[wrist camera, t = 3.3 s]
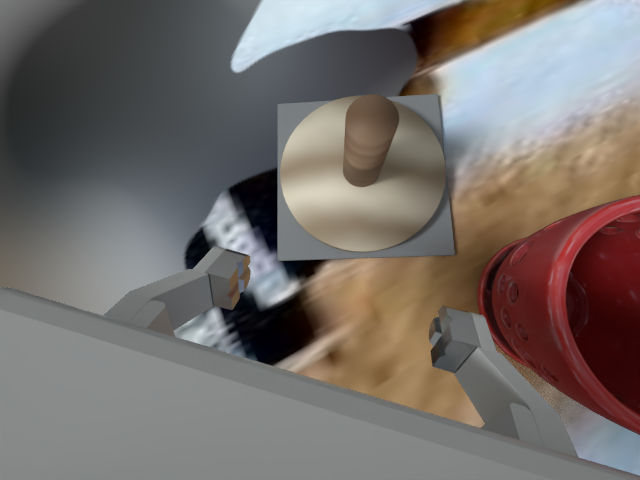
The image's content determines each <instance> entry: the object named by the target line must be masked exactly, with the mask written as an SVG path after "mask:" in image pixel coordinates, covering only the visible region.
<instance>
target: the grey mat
mask: <svg viewBox="0 0 640 480" xmlns="http://www.w3.org/2000/svg"><path fill="white" fill-rule="evenodd" d="M386 98H388V99H389V100H392V101H394V102H397V103H399V104H401V105H403V106H405V107H407V108H409V109H410V110H412V111H413V112H415V113H416V114H417V115H418V116H419V117H421V118H422V119H423V120H424V121H425V122H426V124H427V125H428V126H429V127H430V128H431V130H432V131H433V133H434V134H435V136H436V137H437V139H438V142H439V144H440V146H441V149H442V152H443V155H444V148H443V138H442V129H441V120H440V110H439V101H438V94H430V95H415V96H399V97H386ZM329 102H332V101H321V102H305V103H289V104H278V261H289V260H321V259H353V258H386V257H418V256H450V255H455V250H454V240H453V231H452V222H451V212H450V203H449V194H448V185H447V175H446V179H445V187H444V191H443V195H442V198H441V200H440V203H439V205H438V207H437V209H436V211H435V212H434V214H433V216H432V217H431V218H430V219H429V221H428V222H427V223H426V224H425V225H424V226H423V227H422V228H421V229H420V230H419V231H418V232H417V233H415V234H414V235H412V236H411V237H410V238H408V239H407V240H405V241H403V242H401V243H400V244H398V245H396V246H393V247H390V248H388V249H384V250H380V251H376V252H366V253H361V252H349V251H343V250H340V249H336V248H333V247H331V246H328V245H326V244H324V243H322V242H320V241H319V240H317V239H316V238H314V237H313V236H311V235H310V234H309V233H308V232H307V231H305V229H304V228H303V227H302V226H301V225H300V224H299V223H298V221H297V220H296V219H295V217H294V216H293V214H292V213H291V211H290V209H289V207H288V205H287V203H286V201H285V198H284V195H283V191H282V187H281V178H280V169H281V160H282V156H283V152H284V149H285V146H286V144H287V142H288V140H289V138H290V136H291V134H292V133H293V131H294V130H295V129H296V127H297V126H298V125H299V124H300V123H301V122H302V120H303V119H305V118H306V117H307V116H308V115H309V114H310V113H312V112H313V111H315V110H316V109H318V108H319V107H321V106H323V105H325V104H327V103H329ZM444 160H445V157H444Z"/></svg>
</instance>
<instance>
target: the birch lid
mask: <svg viewBox="0 0 640 480" xmlns="http://www.w3.org/2000/svg"><path fill="white" fill-rule="evenodd" d="M280 178H281V187H282V191H283V195H284V198H285V201H286V203H287V205H288V207H289V209H290V211H291V213H292V214H293V216H294V217H295V219H296V220H297V221H298V223H299V224H300V225H301V226H302V227H303V228H304V229H305V231H307V232H308V233H309V234H310V235H311V236H313V237H314V238H316V239H317V240H319V241H320V242H322V243H324V244H326V245H328V246H331V247H333V248H336V249H340V250H343V251H349V252H361V253H366V252H376V251H380V250H384V249H388V248H390V247H393V246H396V245H398V244H400V243H401V242H403V241H405V240H407V239H408V238H410V237H411V236H412V235H414V234H415V233H417V232H418V231H419V230H420V229H421V228H422V227H423V226H424V225H425V224H426V223H427V222H428V221H429V219H430V218H431V217H432V216H433V214H434V212H435V211H436V209H437V207H438V205H439V203H440V200H441V198H442V195H443V191H444V187H445V179H446V166H445V160H444V155H443V152H442V149H441V146H440V144H439V142H438V139H437V137H436V136H435V134H434V133H433V131H432V130H431V128H430V127H429V126H428V125H427V124H426V122H425V121H424V120H423V119H422V118H421V117H419V116H418V115H417V114H416V113H415V112H413V111H412V110H410V109H409V108H407V107H405V106H403V105H401V104H399V103H397V102H394V101H392V100H389V99H388V98H386V97H383V96H381V95H375V94H372V95H371V94H370V95H365V96H352V97H346V98H341V99H338V100H335V101H332V102H329V103H327V104H325V105H323V106H321V107H319V108H318V109H316V110H315V111H313V112H312V113H310V114H309V115H308V116H307V117H306V118H305V119H303V120H302V122H301V123H300V124H299V125H298V126H297V127H296V129H295V130H294V131H293V133H292V134H291V136H290V138H289V140H288V142H287V144H286V146H285V149H284V152H283V156H282V160H281V169H280Z"/></svg>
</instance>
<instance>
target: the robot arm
mask: <svg viewBox="0 0 640 480" xmlns="http://www.w3.org/2000/svg"><path fill="white" fill-rule="evenodd" d="M249 263H250V256H249V255H246V254H243V253H239V252H236V251H232V250H229V249H224V248H221V247H217V246H216V247H213V248H212V249H211V250H210V251H209V252H208V253H207V255H206V256H205V257H204V258H203V259H202V260H201V261H200V262H199V263H198V264H197V265H196V267H195V268H194V269H193V270H192V269H188V270H185V271H183V272H180V273H177V274H175V275H172V276H169V277H167V278H164V279H162V280H159V281H156V282H154V283H151V284H148V285H146V286H143V287H141V288H138V289H135V290H133V291H130V292H129V293H128V294H126V295H125V296H124V297H123V298H122V299H121V300H120V301H119V302H118V303H117V304H115V306H113V307H112V308H111V309H110V310H109V311H108V312H107V313H106V314H105V315H99V314H96V313H93V312H90V311H86V310H83V309H79V308H76V307H73V306H69V305H66V304H63V303H60V302H56V301H53V300H49V299H46V298H43V297H39V296H36V295H33V294H29V293H27V292H23V291H20V290H17V289H13V288H8V287H0V480H640V476H639V475H635V474H632V473H629V472H625V471H622V470H619V469H615V468H612V467H608V466H605V465H602V464H598V463H595V462H592V461H588V460H585V459H582V458H579V457H578V455H577V453H576V451H575V448H574V446H573V444H572V442H571V440H570V437H569V435H568V433H567V431H566V428H565V426H564V424H563V422H562V419H561V417H560V415H559V414H558V413H557V412H556V411H555V410H554V409H553V408H552V407H551V406H550V405H549V403H548V402H547V401H546V400H545V399H544V398H543V397H542V396H541V395H540V394H539V393H538V392H537V391H536V390H535V389H534V388H533V387H532V385H531V384H530V383H529V382H528V381H527V380H526V379H525V378H524V377H523V376H522V375H521V374H520V373H519V372H518V371H517V370H516V369H515V368H514V366H513V365H512V364H511V363H510V362H509V361H508V360H507V359H506V358H505V357H504V356H503V355H502V354H501V353H498V352H497V351H496V348H495V345H494V342H493V339H492V336H491V333H490V330H489V328H488V325H487V322H486V319H485V317H484V316H483V315H480V314H476V313H472V312H467V311H463V310H459V309H455V308H451V307H447V306H442V307H441V308H440V309H439V311H438V314H439V317H436V318H434V319H433V321H432V323H431V325H430V329H429V341H430V342H431V344H432V345H433V346H434V347H433V348H432V350H431V358H432V366H433V367H436V368H439V369H442V370H446V371H449V372H452V373H455V376H456V378H457V379H458V381H459V383H460V384H461V386H462V387H463V389H464V391H465V392H466V394H467V395H468V397H469V399H470V400H471V402H472V403H473V405H474V407H475V408H476V410H477V411H478V413H479V415H480V416H481V418H482V419H483V421H484V423H485V424H484V425H483V426H482V427H481V428H478V427H475V426H471V425H468V424H465V423H461V422H458V421H455V420H451V419H448V418H445V417H441V416H438V415H434V414H431V413H428V412H424V411H421V410H418V409H414V408H411V407H408V406H404V405H401V404H398V403H394V402H391V401H387V400H384V399H381V398H377V397H374V396H371V395H367V394H364V393H361V392H357V391H354V390H351V389H347V388H344V387H340V386H337V385H334V384H330V383H327V382H324V381H320V380H317V379H314V378H310V377H307V376H304V375H300V374H297V373H294V372H290V371H287V370H284V369H280V368H277V367H274V366H270V365H267V364H264V363H260V362H257V361H254V360H250V359H247V358H243V357H240V356H237V355H233V354H230V353H227V352H223V351H220V350H217V349H213V348H210V347H207V346H203V345H200V344H197V343H193V342H190V341H187V340H183V339H180V338H177V337H175V335H174V332H173V331H174V330H175V329H177V328H178V327H180V326H182V325H183V324H185V323H187V322H188V321H190V320H191V319H193V318H195V317H196V316H198V315H200V314H201V313H203V312H204V311H206V310H208V309H209V308H211V307H212V306H213V305H215V306H218V307H222V308H226V309H230V310H232V309H233V308H234V306H235V305H236V303H237V301H238V300H239V293H240V292H242V291H244V290H245V288H246V287H247V285H248V282H249V279H250V269H249V267H248V265H249Z"/></svg>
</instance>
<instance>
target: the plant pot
mask: <svg viewBox="0 0 640 480" xmlns="http://www.w3.org/2000/svg"><path fill="white" fill-rule="evenodd" d="M606 227H616V228H606ZM477 299H478V308H479V313H480V315H483V316H484V317H485V319H486V322H487V325H488V328H489V330H490V333H491V336H492V339H493V341H494V342H495V343H496V344H497V345H498V347H499V348H500V349H501V350H503V351H504V352H505V353H506V354H507V355H508V356H510V357H511V358H513V359H514V360H516V361H517V362H519V363H521V364H523V365H525V366H527V367H529V368H531V369H532V370H533V371H534V372H535V373H537V374H538V375H539V376H540V377H541V378H542V379H544V380H545V381H547V382H548V383H549V384H551V385H552V386H553V387H555V388H556V389H558V390H559V391H561V392H562V393H564V394H565V395H567V396H569V397H570V398H572V399H573V400H575V401H577V402H578V403H580V404H582V405H583V406H585V407H587V408H588V409H590V410H592V411H593V412H595V413H597V414H599V415H601V416H603V417H604V418H606V419H608V420H610V421H612V422H614V423H616V424H618V425H620V426H622V427H624V428H626V429H628V430H631V431H633V432H635V433H637V434H639V435H640V195H638V196H632V197H628V198H623V199H619V200H616V201H612V202H609V203H606V204H603V205H600V206H597V207H593V208H590V209H587V210H584V211H581V212H579V213H576V214H573V215H570V216H568V217H565V218H563V219H561V220H558V221H556V222H554V223H552V224H550V225H548V226H546V227H545V228H543V229H541V230H539V231H537V232H535V233H534V234H532V235H530V236H529V237H527V238H523V239H520V240H517V241H514V242H512V243H510V244H508V245H507V246H505V247H503V248H502V249H501V250H499V251H498V252H497V253H496V254H495V255H494V256H493V257H492V258H491V259H490V261H489V262H488V263H487V265H486V266H485V268H484V270H483V272H482V274H481V277H480V281H479V286H478V293H477Z"/></svg>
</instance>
